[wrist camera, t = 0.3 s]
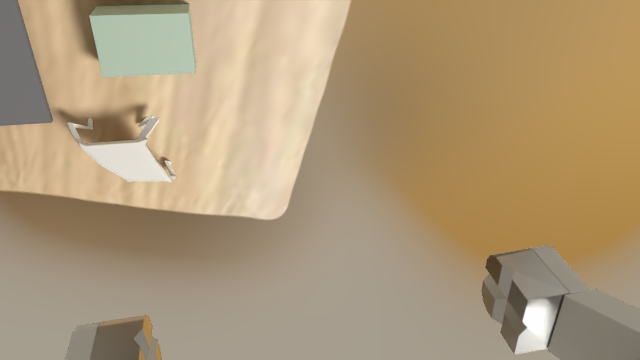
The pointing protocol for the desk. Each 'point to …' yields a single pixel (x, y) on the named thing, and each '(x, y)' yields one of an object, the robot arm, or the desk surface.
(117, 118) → the desk surface
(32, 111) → the rubber mat
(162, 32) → the card box
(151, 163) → the origami figure
